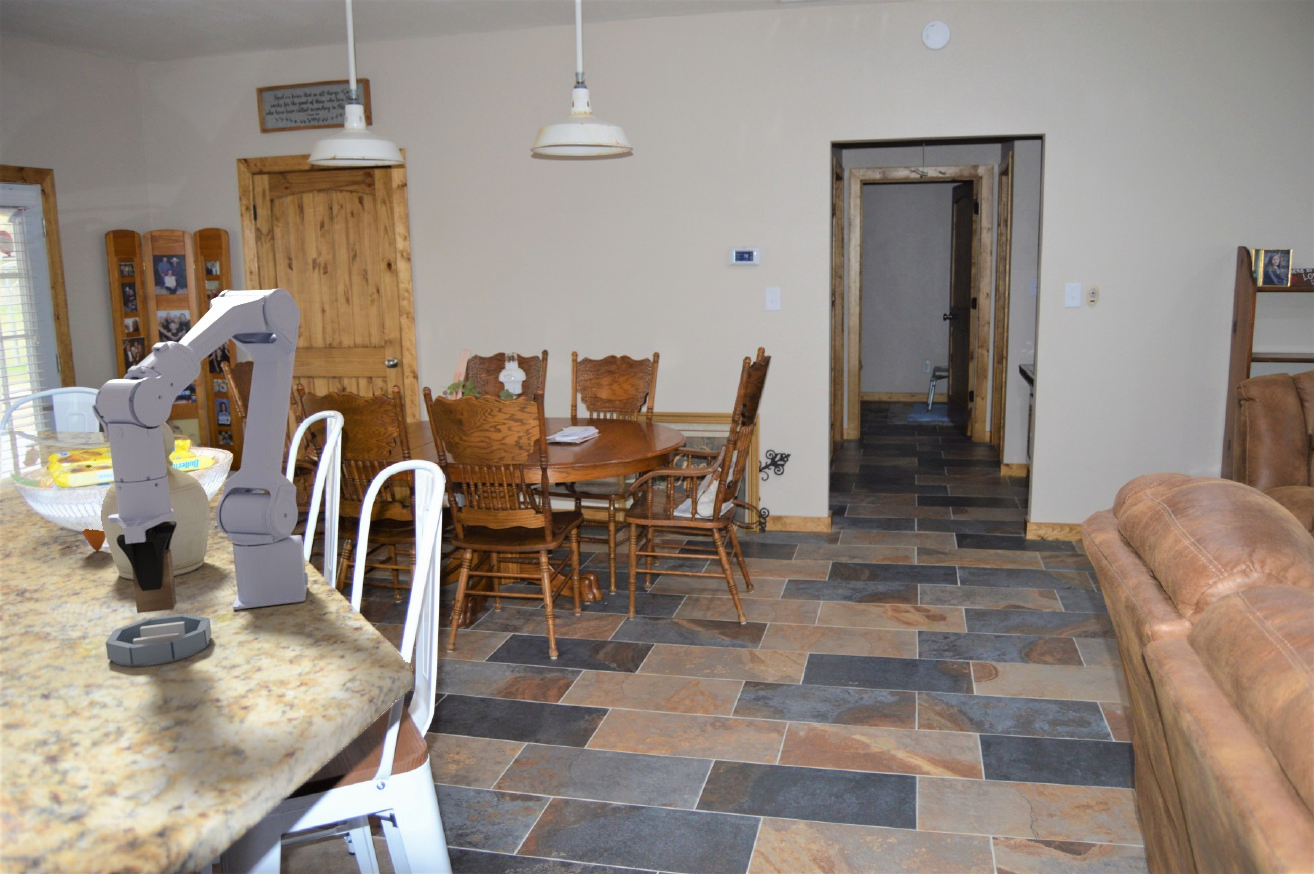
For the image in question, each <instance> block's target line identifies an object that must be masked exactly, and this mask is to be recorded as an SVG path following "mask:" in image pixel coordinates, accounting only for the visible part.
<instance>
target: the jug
mask: <svg viewBox="0 0 1314 874" xmlns="http://www.w3.org/2000/svg"><path fill="white" fill-rule="evenodd" d="M162 432H163V441H164V450H165V458H166V467H167V476H168V485H169V493H170V502H171V508H172V509H173V512H174V516H173V517H172V518H171V519H169V520H166V521H175V522H176V523H177V526H176V528H175V531H174V533H173V536H172V539H171V543H170V548H169V549H171V555H172V565H173V575H174V577H178V576H181V575H185V574H188V573H191V572H194V571H196V570H197V569H199V568H201V567H202V566H203V565H204V563H205V557H206V554H207V548H208V540H209V533H210V532H209V529H210V521H211V519H210V518H211V507H210V502H209V501H210V500H209V497H208V494H207V493H206V492H207V491H206V489H205V488H204V487H203V485H202V484H201V483H200V481H199V480H198V479H196V477H194V476H192V475H191V474H189V473H187V472H185V471H183V470H182V469H178V468H175V467H173V465H174V462H173V461H172V460H171V459H170V456H171V455H172V454H173V451H174V450H175V449H174V448H175V441H176V439H175V435H174V431H173V430H172V428H171V427H170V425H169V424H168V423H167V422H166V421H165V422H163V423H162ZM106 491H107V493H106V496H105V498H104V500H103V504H102V510H101V521H102V526H103V530H104V533H105V536H106V537H105V540H106V543H107V545H108V548H109V551H110V555H111V557H112V560H113V562H114V566H115V567H116V568H117V571H118V575H119V576H120V577H121V578H124V579H127V580H130V581H131V580H132V581H134V580H133V571H132V565H131V563H130V561H129V559H128V558H127V556H126V555H125V553H124V552H123V551H122V549H121V548H120V547H119V546H118V544H117V537H118V536H119V535H123V534H124V529H123V528H122V527H121V526H120V525H119V524H118V523H108V517H109V516H110V515H113V514H118V506H117V498H116V490H115V482H114V483H113V484H112V485H110V486H109V488H108V490H106ZM166 521H164V522H166Z"/></svg>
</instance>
